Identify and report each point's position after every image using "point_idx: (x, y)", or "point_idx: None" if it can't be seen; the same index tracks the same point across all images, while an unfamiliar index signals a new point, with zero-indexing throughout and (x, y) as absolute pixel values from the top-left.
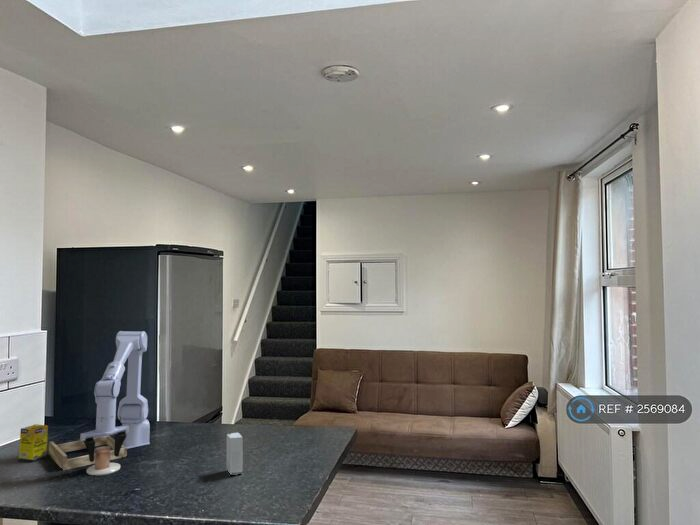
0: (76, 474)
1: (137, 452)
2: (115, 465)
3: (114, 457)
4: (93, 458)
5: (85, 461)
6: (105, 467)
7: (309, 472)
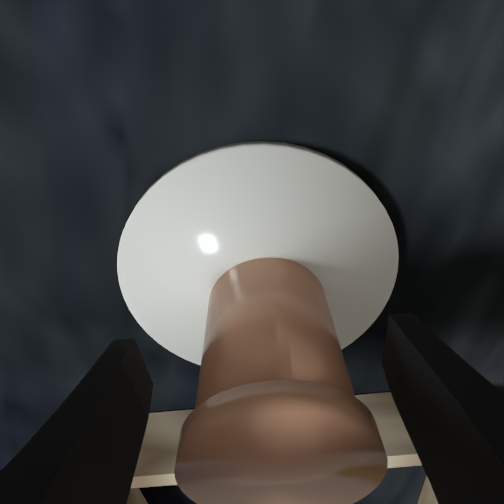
0: (457, 283)
1: (11, 448)
2: (159, 289)
3: (154, 423)
4: (411, 336)
5: None
6: (250, 265)
7: None
